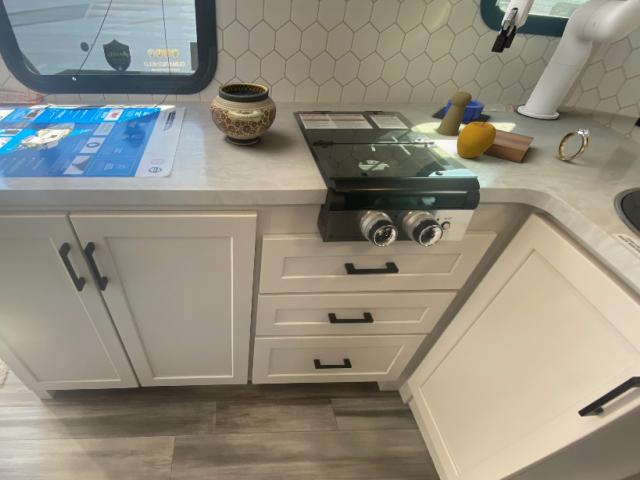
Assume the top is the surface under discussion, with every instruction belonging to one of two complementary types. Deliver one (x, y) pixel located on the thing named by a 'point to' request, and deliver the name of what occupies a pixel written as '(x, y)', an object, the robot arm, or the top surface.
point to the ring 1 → (469, 110)
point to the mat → (481, 119)
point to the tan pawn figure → (455, 114)
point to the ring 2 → (584, 146)
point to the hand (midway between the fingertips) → (500, 49)
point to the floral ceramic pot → (243, 111)
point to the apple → (475, 139)
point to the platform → (509, 145)
